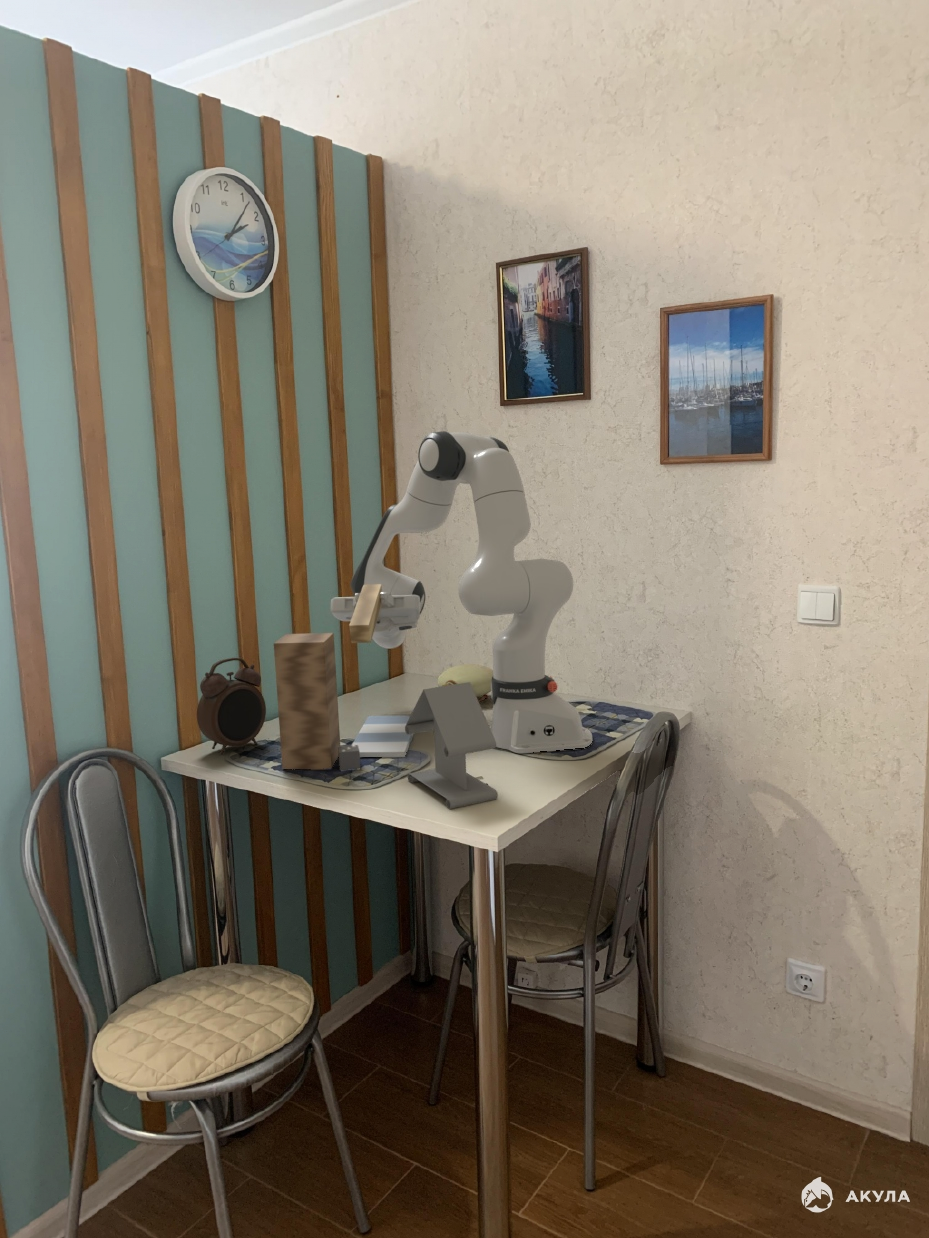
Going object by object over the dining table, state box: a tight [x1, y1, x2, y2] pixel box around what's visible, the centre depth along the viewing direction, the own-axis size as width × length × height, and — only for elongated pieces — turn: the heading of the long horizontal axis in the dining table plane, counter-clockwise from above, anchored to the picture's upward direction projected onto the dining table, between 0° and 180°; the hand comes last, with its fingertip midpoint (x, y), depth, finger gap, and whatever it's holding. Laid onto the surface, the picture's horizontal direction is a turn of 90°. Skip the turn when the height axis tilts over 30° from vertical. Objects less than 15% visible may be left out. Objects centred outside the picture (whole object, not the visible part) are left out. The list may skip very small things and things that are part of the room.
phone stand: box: [405, 682, 498, 810], centre depth 173 cm, size 18×10×20 cm, turn 28°
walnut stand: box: [273, 632, 341, 771], centre depth 192 cm, size 10×10×26 cm
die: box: [338, 745, 361, 771], centre depth 189 cm, size 4×4×4 cm
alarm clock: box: [196, 657, 267, 755], centre depth 203 cm, size 14×7×20 cm, turn 138°
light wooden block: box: [348, 584, 382, 644], centre depth 201 cm, size 4×20×4 cm, turn 176°
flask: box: [437, 663, 493, 703], centre depth 237 cm, size 9×16×18 cm
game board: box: [350, 714, 414, 758], centre depth 209 cm, size 12×28×1 cm, turn 177°
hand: (370, 596), depth 206 cm, fingers closed on light wooden block, 4 cm apart
